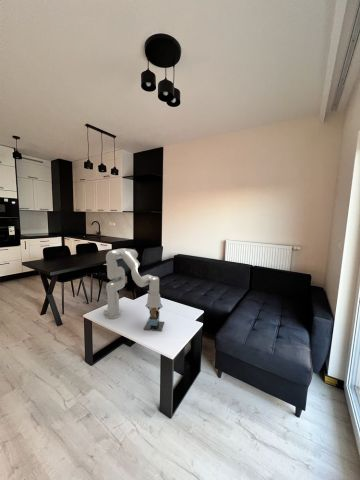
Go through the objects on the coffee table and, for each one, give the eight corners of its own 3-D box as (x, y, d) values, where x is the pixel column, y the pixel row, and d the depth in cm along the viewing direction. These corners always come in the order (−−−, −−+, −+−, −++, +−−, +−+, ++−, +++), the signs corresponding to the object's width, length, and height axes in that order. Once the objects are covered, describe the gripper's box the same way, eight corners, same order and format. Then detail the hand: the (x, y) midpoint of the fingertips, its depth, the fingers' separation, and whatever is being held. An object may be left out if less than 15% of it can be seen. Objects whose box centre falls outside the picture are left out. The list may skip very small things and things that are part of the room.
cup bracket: (143, 329, 152) (143, 315, 151) (147, 321, 164) (148, 308, 162) (161, 331, 150) (161, 316, 149) (164, 323, 162) (164, 309, 161)
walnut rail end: (150, 321, 153) (150, 306, 151) (152, 318, 157) (152, 304, 155) (155, 321, 152) (155, 307, 151) (156, 319, 156) (157, 304, 155)
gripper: (142, 293, 149) (142, 316, 151) (163, 295, 147) (163, 318, 149) (145, 290, 156) (145, 311, 158) (165, 291, 155) (165, 313, 157)
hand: (153, 314), depth 154 cm, fingers closed on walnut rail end, 4 cm apart
